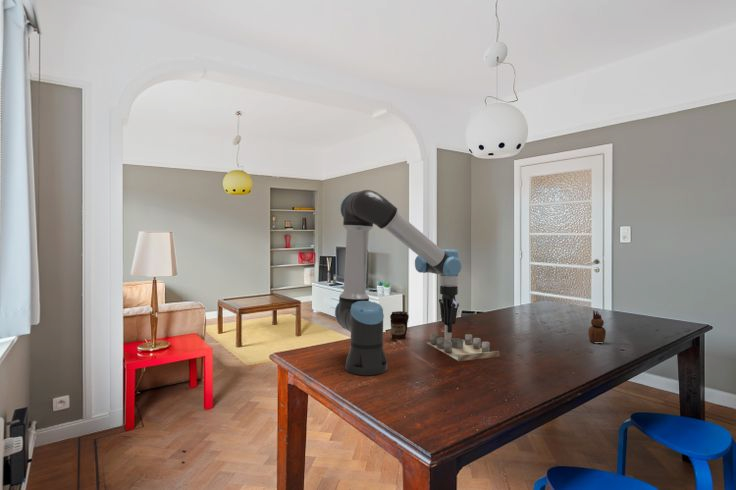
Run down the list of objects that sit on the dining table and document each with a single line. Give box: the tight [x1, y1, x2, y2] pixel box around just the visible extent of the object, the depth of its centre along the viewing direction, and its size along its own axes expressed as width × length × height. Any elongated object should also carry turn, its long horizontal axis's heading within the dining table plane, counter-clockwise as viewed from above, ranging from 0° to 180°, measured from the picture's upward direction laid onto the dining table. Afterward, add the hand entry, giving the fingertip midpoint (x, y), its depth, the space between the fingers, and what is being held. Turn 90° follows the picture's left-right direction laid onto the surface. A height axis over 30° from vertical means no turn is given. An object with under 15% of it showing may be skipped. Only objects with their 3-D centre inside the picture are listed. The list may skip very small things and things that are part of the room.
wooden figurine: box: [587, 309, 607, 343], centre depth 182 cm, size 7×6×15 cm
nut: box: [451, 337, 464, 349], centre depth 168 cm, size 6×5×3 cm
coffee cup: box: [389, 310, 409, 343], centre depth 182 cm, size 9×8×13 cm
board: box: [426, 333, 500, 362], centre depth 165 cm, size 18×26×6 cm
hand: (447, 339), depth 175 cm, fingers closed
